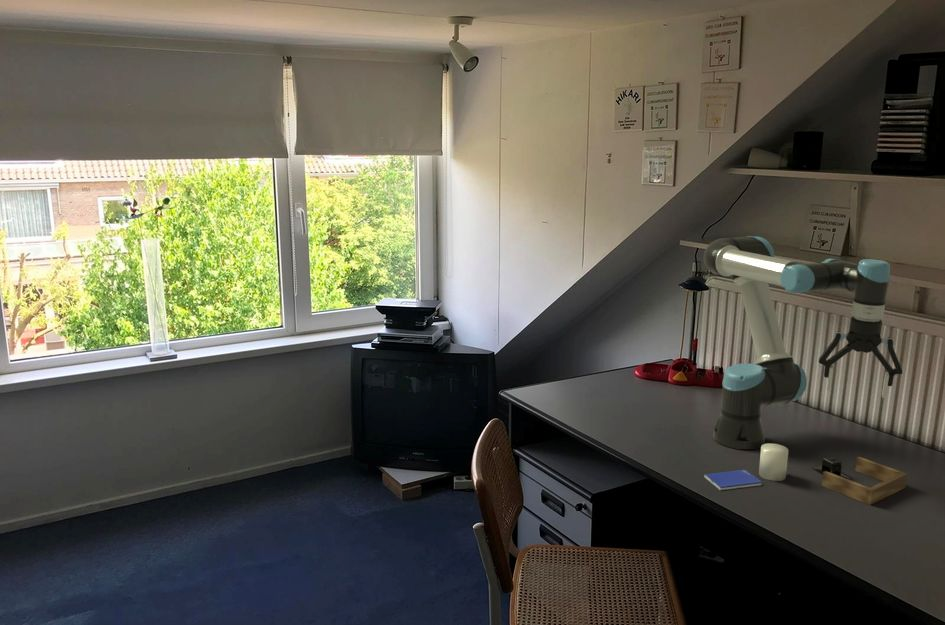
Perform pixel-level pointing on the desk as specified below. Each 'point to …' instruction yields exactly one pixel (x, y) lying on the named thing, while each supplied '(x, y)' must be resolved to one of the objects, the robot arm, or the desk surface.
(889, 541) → the desk surface
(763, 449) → the cream cylinder
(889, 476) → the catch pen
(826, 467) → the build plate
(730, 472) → the hard drive
